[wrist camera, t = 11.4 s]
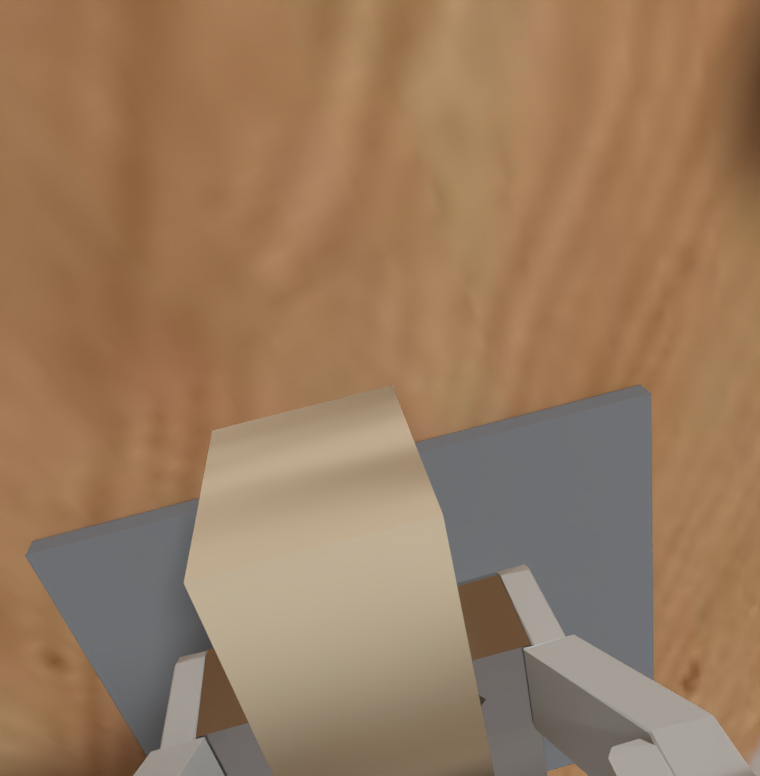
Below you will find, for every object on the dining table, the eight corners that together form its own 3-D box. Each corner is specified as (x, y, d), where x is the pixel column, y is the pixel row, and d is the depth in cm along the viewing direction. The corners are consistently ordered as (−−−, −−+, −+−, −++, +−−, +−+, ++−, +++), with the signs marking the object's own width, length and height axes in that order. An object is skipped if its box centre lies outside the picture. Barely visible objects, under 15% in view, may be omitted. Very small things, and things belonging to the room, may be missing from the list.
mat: (32, 541, 17) (25, 555, 17) (639, 384, 18) (651, 393, 18) (214, 848, 25) (213, 866, 24) (645, 727, 25) (653, 740, 25)
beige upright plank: (121, 453, 10) (50, 619, 7) (479, 363, 10) (568, 481, 7) (327, 895, 16) (339, 1086, 13) (547, 830, 17) (610, 1003, 13)
